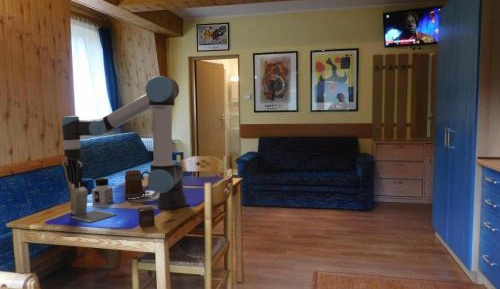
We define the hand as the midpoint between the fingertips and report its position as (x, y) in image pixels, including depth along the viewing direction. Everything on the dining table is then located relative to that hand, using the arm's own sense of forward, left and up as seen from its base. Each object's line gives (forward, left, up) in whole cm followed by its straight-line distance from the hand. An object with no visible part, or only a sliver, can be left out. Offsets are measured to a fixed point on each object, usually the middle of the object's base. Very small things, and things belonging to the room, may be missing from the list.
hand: (76, 196), depth 187 cm
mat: (-13, 0, -8) cm, 15 cm away
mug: (-2, -37, -9) cm, 38 cm away
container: (+7, -20, -9) cm, 23 cm away
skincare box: (-1, 0, -8) cm, 8 cm away
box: (-45, -4, -9) cm, 46 cm away
